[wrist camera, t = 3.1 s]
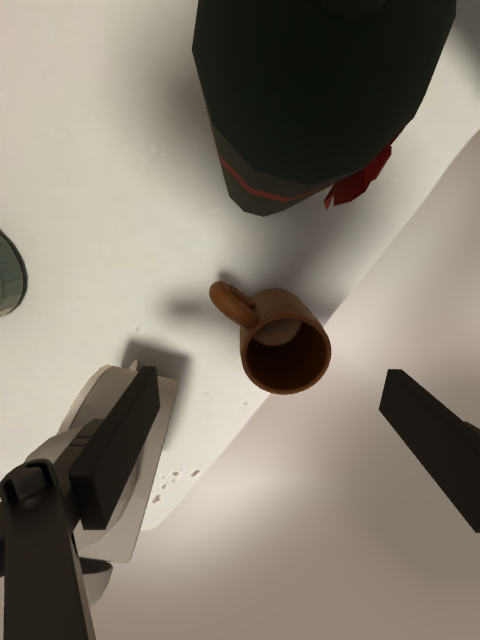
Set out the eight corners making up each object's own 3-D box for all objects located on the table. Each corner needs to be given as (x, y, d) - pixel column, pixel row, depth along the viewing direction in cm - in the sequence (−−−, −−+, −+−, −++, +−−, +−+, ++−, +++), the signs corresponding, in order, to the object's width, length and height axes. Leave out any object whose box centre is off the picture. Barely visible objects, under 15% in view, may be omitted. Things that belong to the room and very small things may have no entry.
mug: (196, 297, 29) (176, 327, 20) (241, 245, 27) (242, 251, 18) (273, 360, 31) (286, 412, 22) (319, 316, 29) (353, 353, 20)
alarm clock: (127, 330, 30) (-126, 555, 9) (198, 351, 31) (114, 598, 10) (106, 435, 35) (-87, 732, 14) (167, 450, 36) (69, 750, 15)
